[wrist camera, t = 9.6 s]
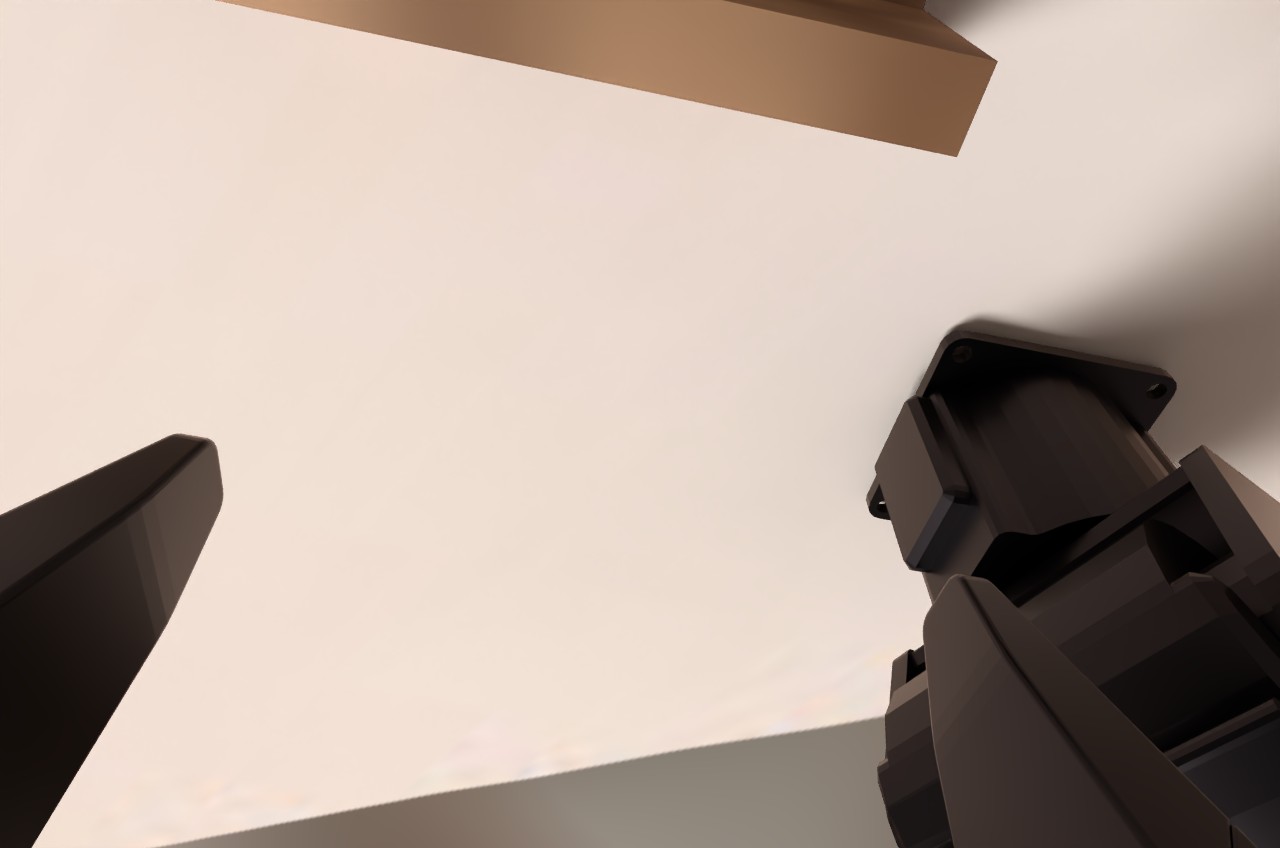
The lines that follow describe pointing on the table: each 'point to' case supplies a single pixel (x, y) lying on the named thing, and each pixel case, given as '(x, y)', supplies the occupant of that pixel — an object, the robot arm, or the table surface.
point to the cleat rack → (717, 54)
